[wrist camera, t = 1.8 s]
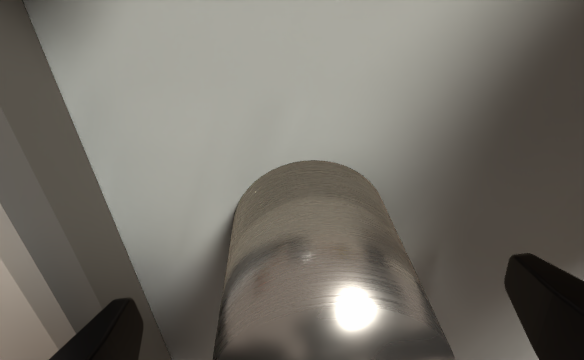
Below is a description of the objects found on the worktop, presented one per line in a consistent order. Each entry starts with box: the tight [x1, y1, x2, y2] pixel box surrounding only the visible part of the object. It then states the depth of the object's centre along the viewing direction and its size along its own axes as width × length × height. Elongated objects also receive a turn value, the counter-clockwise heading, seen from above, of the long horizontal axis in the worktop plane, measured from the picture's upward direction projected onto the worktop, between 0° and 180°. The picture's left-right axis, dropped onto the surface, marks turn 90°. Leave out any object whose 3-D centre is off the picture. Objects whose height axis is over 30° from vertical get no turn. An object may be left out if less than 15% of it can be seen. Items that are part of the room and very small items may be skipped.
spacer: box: [213, 160, 455, 360], centre depth 9 cm, size 4×4×5 cm
